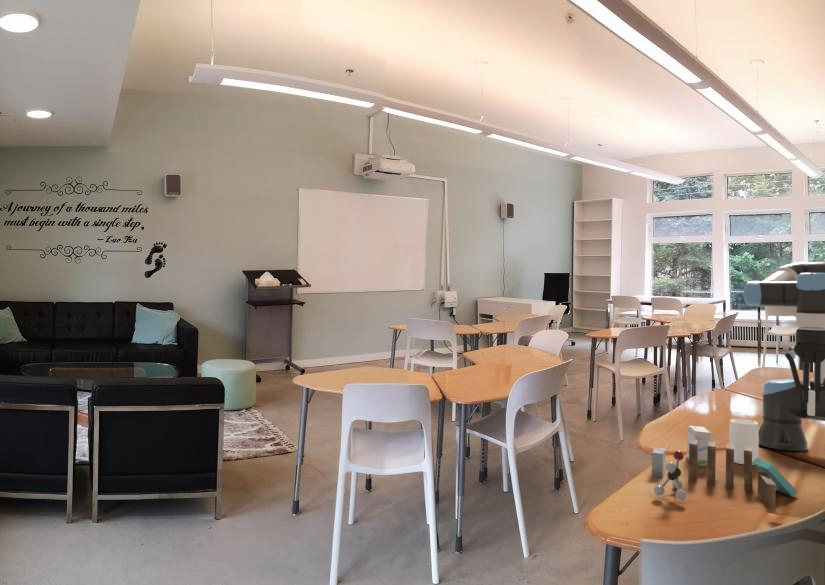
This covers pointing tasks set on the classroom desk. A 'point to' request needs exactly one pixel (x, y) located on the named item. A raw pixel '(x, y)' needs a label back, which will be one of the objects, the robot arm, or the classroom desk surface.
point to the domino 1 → (693, 460)
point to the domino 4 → (747, 468)
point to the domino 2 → (711, 463)
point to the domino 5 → (766, 489)
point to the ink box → (699, 442)
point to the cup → (744, 438)
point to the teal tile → (775, 477)
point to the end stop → (658, 462)
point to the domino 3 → (730, 465)
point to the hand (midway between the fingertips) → (811, 414)
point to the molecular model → (673, 477)
